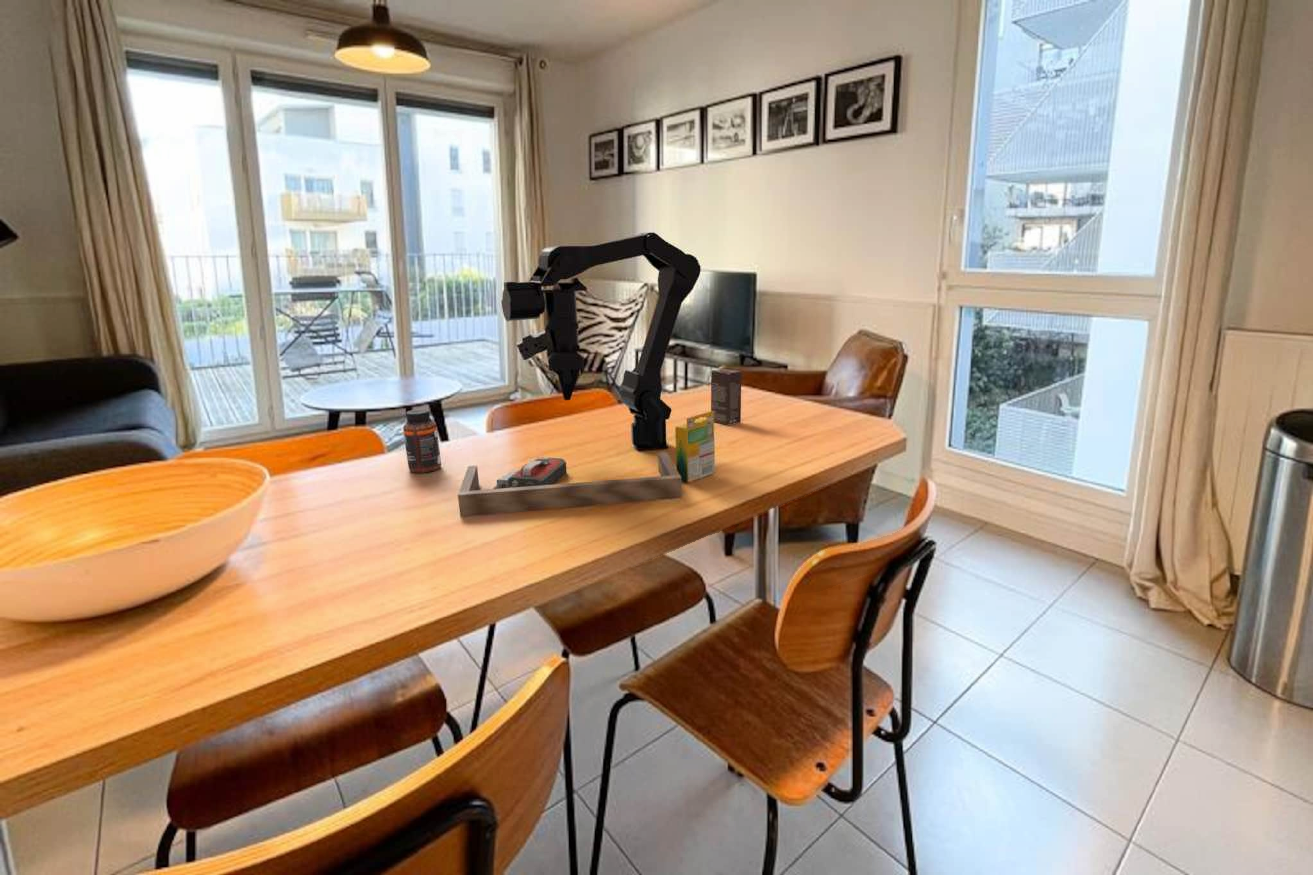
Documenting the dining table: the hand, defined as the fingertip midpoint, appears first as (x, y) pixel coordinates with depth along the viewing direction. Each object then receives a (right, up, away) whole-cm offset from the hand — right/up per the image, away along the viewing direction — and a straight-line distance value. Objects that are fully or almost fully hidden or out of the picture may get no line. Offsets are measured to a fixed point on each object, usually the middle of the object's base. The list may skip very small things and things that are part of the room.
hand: (567, 399), depth 127 cm
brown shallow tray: (+3, -16, -14) cm, 21 cm away
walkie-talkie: (-6, -16, -12) cm, 21 cm away
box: (+33, -4, +28) cm, 44 cm away
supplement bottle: (-27, -13, 0) cm, 30 cm away
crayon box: (+24, -14, -8) cm, 29 cm away
